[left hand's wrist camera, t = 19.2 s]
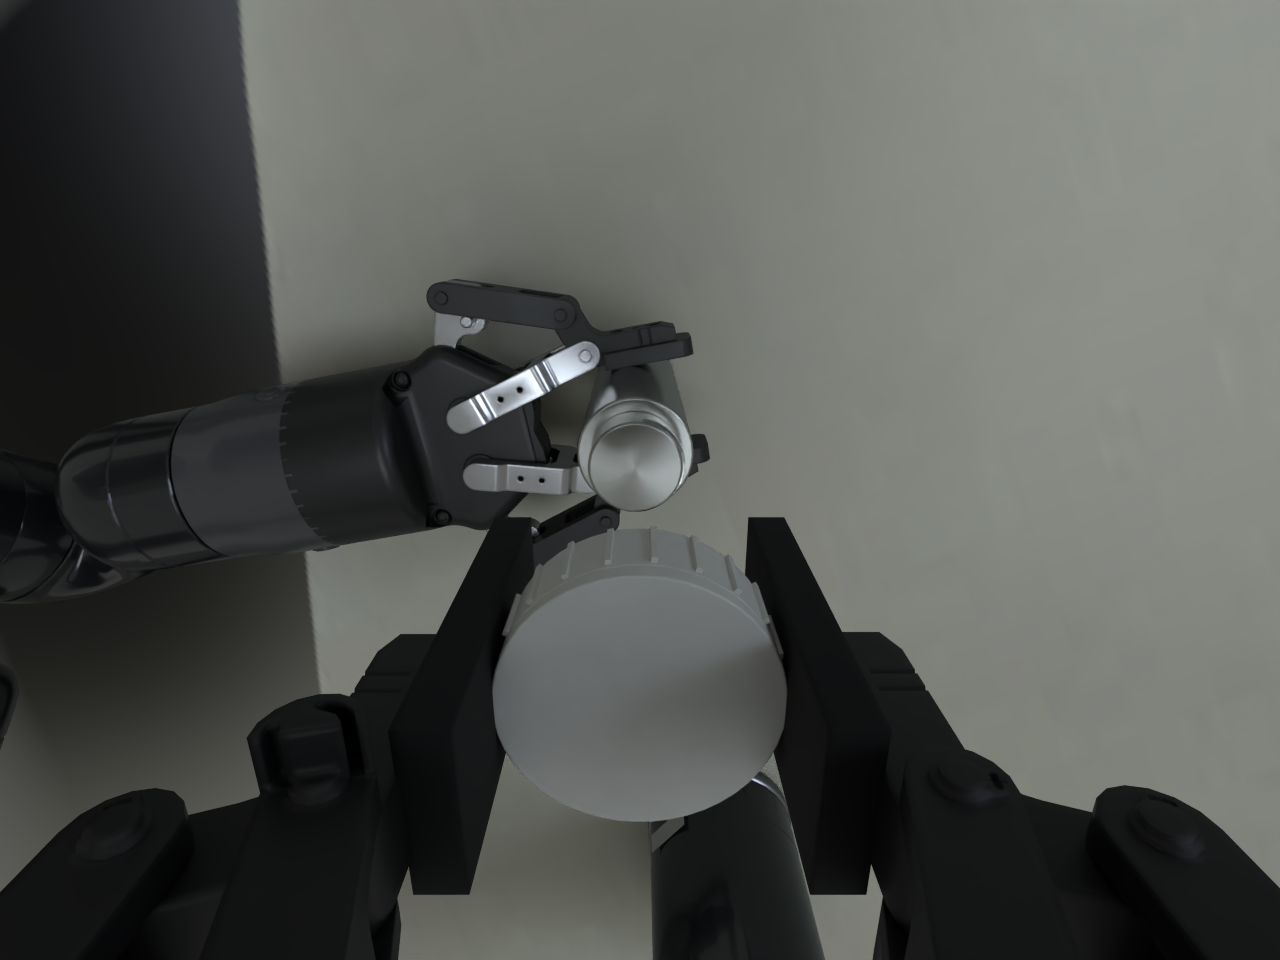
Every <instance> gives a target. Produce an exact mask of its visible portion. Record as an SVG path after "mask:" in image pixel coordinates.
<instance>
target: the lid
mask: <svg viewBox="0 0 1280 960" xmlns="http://www.w3.org/2000/svg"><path fill="white" fill-rule="evenodd" d="M502 635H503V636H505V640H504V643H503V646H502V649H501V652H500V655H499V659H498V661H497V664H496V667H495V671H494V676H493V681H492V694H493V707H494V718H495V727H496V731H497V734H498V737H499V739H500V741H501V743H502V746H503V748H504V750H505V751H506V753H507V755H508V756H509V758H510V759H511V761H512V762H513V764H514V765H515V766H516V767H517V768H518V770H519V771H520V772H521V773H522V774H523V776H524V777H526V778H527V779H528V780H529V781H530V782H531V783H532V784H533V785H534V786H535V787H537V788H538V789H539V790H541V791H542V792H544V793H545V794H546V795H548V796H549V797H551V798H553V799H554V800H556V801H558V802H560V803H562V804H564V805H565V806H568V807H570V808H573V809H575V810H578V811H580V812H583V813H586V814H589V815H593V816H596V817H600V818H606V819H611V820H617V821H629V822H653V821H661V820H669V819H674V818H678V817H683V816H687V815H690V814H693V813H696V812H699V811H702V810H705V809H707V808H709V807H711V806H713V805H716V804H718V803H720V802H722V801H723V800H725V799H726V798H728V797H730V796H731V795H733V794H735V793H736V792H737V791H739V790H740V789H741V788H742V787H744V786H745V785H746V784H747V783H749V782H750V781H751V780H752V779H753V778H754V777H755V776H756V775H757V774H758V773H759V772H760V770H761V769H762V768H763V766H764V765H765V764H766V762H767V761H768V760H769V759H770V757H771V755H772V753H773V752H774V750H775V748H776V746H777V745H778V742H779V740H780V737H781V734H782V732H783V729H784V723H785V713H786V702H787V678H786V675H785V671H784V667H783V663H782V660H781V659H783V650H782V647H781V645H780V642H779V639H778V636H777V633H776V630H775V627H774V624H773V621H772V618H771V615H768V614H767V611H766V608H765V605H764V602H763V599H762V596H761V593H760V590H759V587H758V585H757V583H756V582H754V583H752V584H751V582H750V581H749V579H748V578H747V577H746V576H745V575H744V574H743V572H742V571H741V570H740V569H739V568H738V567H737V566H736V565H735V564H734V561H733V557H731V556H730V555H729V554H728V555H727V556H726V557H725V556H724V555H722V554H721V553H719V552H718V551H716V550H715V549H713V548H712V547H710V546H708V545H706V544H704V543H702V542H700V541H698V537H696V536H694V535H692V536H691V538H689V537H686V536H684V535H681V534H676V533H672V532H667V531H663V530H657V527H654V526H650V529H625V530H618V531H614V528H611V529H607V533H603V534H600V535H596V536H592V537H590V538H587V539H585V540H582V541H580V542H577V543H574V541H572V542H570V543H568V546H567V548H566V549H565V550H563V551H561V552H560V553H558V554H557V555H556V556H554V557H553V558H552V559H550V560H549V561H548V562H547V563H546V564H545V565H544V566H542V565H541V564H539V565H538V566H537V567H536V569H535V572H534V576H533V578H532V579H531V580H530V581H529V583H528V584H527V585H526V587H525V589H524V591H523V592H522V594H521V595H520V594H516V596H515V598H514V601H513V604H512V607H511V610H510V612H509V615H508V618H507V621H506V624H505V627H504V630H503V633H502Z"/></svg>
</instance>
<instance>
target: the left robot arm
mask: <svg viewBox="0 0 1280 960" xmlns="http://www.w3.org/2000/svg"><path fill="white" fill-rule="evenodd" d="M533 576H534V558H533V541H532V524H531V517H495V519H494V521H493V523H492V525H491V527H490V529H489V531H488V533H487V535H486V537H485V539H484V541H483V543H482V545H481V547H480V549H479V551H478V553H477V555H476V557H475V559H474V561H473V563H472V565H471V567H470V569H469V571H468V573H467V575H466V577H465V579H464V581H463V583H462V585H461V586H460V588H459V590H458V592H457V594H456V596H455V598H454V600H453V602H452V604H451V606H450V608H449V610H448V612H447V614H446V616H445V618H444V620H443V622H442V624H441V626H440V628H439V630H438V632H437V634H400V635H399V636H398V637H396V638H395V639H394V640H392V641H391V642H390V643H388V644H387V645H386V646H384V647H383V648H382V649H381V650H379V651H378V652H377V654H376V655H375V657H374V658H373V660H372V662H371V663H370V665H369V666H368V668H367V670H366V671H365V676H362V678H361V679H360V681H359V683H358V684H357V686H356V687H355V692H354V693H352V694H351V695H350V697H349V696H346V695H342V694H318V695H314V696H310V697H306V698H302V699H297V700H295V701H293V702H291V703H288V704H286V705H284V706H282V707H280V708H278V709H275V710H274V711H273V712H271V713H270V714H269V715H267V716H266V717H265V718H263V719H262V720H261V721H259V722H258V723H257V724H256V726H255V727H254V729H253V730H252V731H251V733H250V734H249V735H248V737H247V741H248V745H249V749H250V753H251V757H252V761H253V766H254V770H255V774H256V778H257V782H258V786H259V790H260V795H259V797H257V798H253V799H250V800H247V801H244V802H241V803H237V804H233V805H229V806H225V807H220V808H216V809H212V810H208V811H204V812H200V813H195V814H191V815H188V813H187V810H186V807H185V803H184V801H183V800H182V799H181V798H180V797H179V796H178V795H177V794H176V793H175V792H174V791H168V790H163V789H158V788H153V789H146V790H138V791H132V792H129V793H126V794H123V795H120V796H118V797H114V798H112V799H109V800H106V801H104V802H102V803H101V804H99V805H97V806H95V807H93V808H91V809H90V810H88V811H86V812H84V813H82V814H81V815H79V816H78V817H77V818H76V819H74V820H73V821H72V822H71V823H70V824H68V825H67V826H66V827H65V828H63V829H62V830H61V831H60V832H59V833H58V834H57V835H56V836H55V837H54V838H53V839H52V840H51V841H50V842H49V843H48V844H47V845H46V846H45V847H44V848H43V849H42V850H41V851H40V852H39V853H38V854H37V855H36V856H35V857H34V858H33V859H32V860H31V861H30V862H29V863H28V864H27V865H26V866H25V867H24V868H23V869H22V870H21V871H20V873H19V874H18V875H17V876H16V877H15V878H14V879H13V880H12V881H11V882H10V883H9V884H8V885H7V886H6V887H5V888H4V889H3V890H2V891H1V892H0V960H398V954H399V944H400V933H401V919H400V912H399V906H398V900H397V897H398V894H399V891H400V889H401V886H402V883H403V880H404V878H405V875H406V872H407V869H408V867H409V870H410V876H411V883H412V889H413V895H469V894H470V890H471V886H472V883H473V879H474V875H475V871H476V867H477V863H478V859H479V855H480V851H481V848H482V844H483V840H484V836H485V832H486V828H487V824H488V820H489V816H490V812H491V809H492V805H493V801H494V797H495V793H496V789H497V785H498V781H499V777H500V774H501V770H502V766H503V762H504V758H505V754H506V751H505V750H504V748H503V746H502V743H501V741H500V739H499V737H498V734H497V731H496V727H495V718H494V707H493V694H492V681H493V676H494V671H495V667H496V664H497V661H498V659H499V655H500V652H501V649H502V646H503V643H504V640H505V636H503V635H502V633H503V630H504V627H505V624H506V621H507V618H508V615H509V612H510V610H511V607H512V604H513V601H514V598H515V596H516V594H520V595H521V594H522V592H523V591H524V589H525V587H526V585H527V584H528V583H529V581H530V580H531V579H532V578H533ZM745 576H746V577H747V578H748V579H749V581H750V582H751V584H752V583H754V582H756V583H757V585H758V587H759V590H760V593H761V596H762V599H763V602H764V605H765V608H766V611H767V614H768V615H771V618H772V621H773V624H774V627H775V630H776V633H777V636H778V639H779V642H780V645H781V647H782V650H783V659H781V660H782V663H783V667H784V671H785V675H786V678H787V702H786V713H785V723H784V729H783V732H782V734H781V737H780V740H779V742H778V745H777V746H776V748H775V750H774V756H775V760H776V763H777V767H778V771H779V775H780V779H781V783H782V787H783V791H784V795H785V798H786V802H787V806H788V810H789V814H790V818H791V822H792V826H793V830H794V834H795V837H796V841H797V845H798V849H799V853H800V857H801V861H802V865H803V869H804V872H805V876H806V880H807V884H808V888H809V892H810V895H866V893H867V887H868V880H869V874H870V867H871V865H872V867H873V870H874V873H875V875H876V878H877V881H878V884H879V886H880V889H881V892H882V895H883V900H882V906H881V911H880V917H879V923H878V929H877V935H876V941H875V947H874V954H873V960H1280V888H1279V887H1278V886H1277V885H1276V884H1275V883H1274V882H1273V881H1272V880H1271V879H1270V878H1269V877H1268V876H1267V875H1266V874H1265V873H1264V872H1263V871H1262V870H1261V869H1260V868H1259V867H1258V866H1257V865H1256V863H1255V862H1254V861H1253V860H1252V859H1251V858H1250V857H1249V856H1248V855H1247V854H1246V853H1245V852H1244V851H1243V850H1242V849H1241V848H1240V847H1239V846H1238V845H1237V844H1236V843H1235V842H1234V841H1233V840H1232V839H1231V838H1230V837H1229V836H1228V835H1227V834H1226V833H1225V832H1224V831H1223V830H1222V829H1221V828H1220V827H1218V826H1217V825H1216V824H1215V823H1214V822H1212V821H1211V820H1210V819H1209V818H1207V817H1206V816H1205V815H1204V814H1203V813H1201V812H1200V811H1198V810H1196V809H1194V808H1193V807H1191V806H1189V805H1187V804H1185V803H1184V802H1182V801H1180V800H1178V799H1176V798H1175V797H1172V796H1169V795H1166V794H1163V793H1160V792H1157V791H1154V790H1151V789H1149V788H1142V787H1134V786H1126V785H1123V786H1118V787H1112V788H1107V789H1106V790H1104V791H1103V792H1102V793H1101V794H1100V795H1099V796H1098V797H1097V798H1096V801H1095V805H1094V808H1093V811H1092V812H1088V811H1084V810H1080V809H1075V808H1071V807H1067V806H1063V805H1059V804H1054V803H1050V802H1046V801H1042V800H1039V799H1035V798H1032V797H1029V796H1026V795H1023V794H1021V793H1020V792H1019V790H1018V789H1017V787H1016V785H1015V784H1014V782H1013V781H1012V779H1011V777H1010V776H1009V775H1008V774H1006V773H1005V772H1004V771H1003V770H1002V769H1001V768H999V767H998V766H997V765H996V764H995V763H994V762H992V761H990V760H988V759H986V758H984V757H982V756H980V755H978V754H976V753H974V752H972V751H969V750H965V749H964V747H963V746H962V744H961V742H960V741H959V739H958V738H957V736H956V734H955V733H954V731H953V730H952V728H951V727H950V725H949V723H948V722H947V720H946V719H945V717H944V715H943V714H942V712H941V711H940V709H939V707H938V706H937V704H936V703H935V701H934V699H933V698H932V696H931V695H930V693H929V691H926V690H925V685H924V684H923V682H922V680H921V679H920V677H919V676H918V674H915V669H914V668H913V666H912V664H911V663H910V661H909V660H908V658H907V656H906V655H905V653H904V652H903V650H902V649H901V648H900V647H898V646H897V645H896V644H894V643H893V642H892V641H890V640H889V639H888V638H886V637H885V636H884V635H882V634H881V633H880V632H842V631H841V629H840V627H839V625H838V623H837V621H836V619H835V617H834V615H833V613H832V611H831V609H830V607H829V605H828V603H827V601H826V599H825V597H824V595H823V593H822V591H821V589H820V587H819V585H818V583H817V581H816V579H815V577H814V575H813V573H812V571H811V570H810V568H809V566H808V564H807V562H806V560H805V558H804V556H803V554H802V552H801V550H800V548H799V546H798V544H797V542H796V540H795V538H794V536H793V534H792V532H791V530H790V528H789V526H788V524H787V522H786V520H785V518H784V517H748V534H747V551H746V568H745Z"/></svg>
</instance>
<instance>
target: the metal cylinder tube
mask: <svg viewBox="0 0 1280 960" xmlns="http://www.w3.org/2000/svg"><path fill="white" fill-rule="evenodd" d="M693 457H694V448H693V441H692V438H691V434H690V430H689V427H688V423H687V419H686V416H685V412H684V409H683V405H682V401H681V398H680V394H679V390H678V387H677V383H676V380H675V376H674V372H673V369H672V365H671V363H670V361H669V360H664V361H659V362H653V363H648V364H642V365H637V366H630V367H624V368H620V369H615V370H609V371H606V368H605V365H604V366H599V369H598V373H597V376H596V380H595V383H594V387H593V390H592V394H591V398H590V401H589V405H588V408H587V412H586V415H585V419H584V422H583V426H582V429H581V433H580V436H579V440H578V445H577V460H578V465H579V468H580V471H581V474H582V476H583V478H584V480H585V481H586V483H587V484H588V486H589V487H590V488H591V489H592V490H593V491H594V492H595V493H596V494H597V495H598V496H600V497H601V498H602V499H603V500H604V501H605V502H607V503H608V504H610V505H611V506H613V507H615V508H618V509H621V510H625V511H632V512H640V511H646V510H650V509H653V508H655V507H658V506H659V505H661V504H663V503H664V502H665V501H667V500H668V499H669V498H670V497H671V496H672V495H674V494H675V493H676V492H677V491H678V490H679V489H680V488H681V486H682V485H683V484H684V483H685V481H686V479H687V477H688V475H689V473H690V471H691V467H692V464H693Z"/></svg>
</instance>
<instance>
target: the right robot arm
mask: <svg viewBox="0 0 1280 960" xmlns="http://www.w3.org/2000/svg"><path fill="white" fill-rule="evenodd" d="M427 302H428V304H429V306H430V307H431V308H432V309H433V310H434V311H435V325H434V345H433V346H432V347H430V348H428V349H426V350H425V351H424V352H423V353H422V354H421V355H419V356H418V357H417V358H416V359H413V360H410V361H406V362H401V363H396V364H390V365H385V366H379V367H374V368H369V369H363V370H358V371H353V372H347V373H342V374H336V375H331V376H326V377H320V378H315V379H310V380H305V381H300V382H294V383H289V384H283V385H278V386H273V387H267V388H261V389H257V390H252V391H248V392H245V393H241V394H238V395H235V396H232V397H229V398H226V399H224V400H221V401H218V402H215V403H211V404H206V405H202V406H196V407H191V408H185V409H181V410H175V411H170V412H164V413H159V414H154V415H149V416H143V417H138V418H134V419H129V420H125V421H121V422H117V423H113V424H110V425H106V426H104V427H101V428H99V429H97V430H94V431H92V432H90V433H88V434H86V435H85V436H83V437H82V438H81V439H79V440H78V441H77V442H75V443H74V444H73V445H72V446H71V448H70V449H69V450H68V451H67V452H66V454H65V455H64V456H63V458H62V460H61V461H60V463H59V464H53V463H49V462H46V461H42V460H38V459H35V458H31V457H28V456H24V455H20V454H16V453H13V452H9V451H6V450H2V449H0V603H11V604H30V603H45V602H54V601H62V600H68V599H74V598H79V597H84V596H88V595H92V594H95V593H99V592H102V591H105V590H108V589H110V588H113V587H116V586H119V585H121V584H124V583H127V582H129V581H132V580H135V579H138V578H140V577H143V576H145V575H147V574H149V573H151V572H153V571H155V570H157V569H169V568H176V567H184V566H190V565H196V564H201V563H207V562H213V561H219V560H225V559H230V558H236V557H243V556H251V555H280V554H291V553H298V552H304V551H310V550H313V551H325V550H329V549H333V548H337V547H339V546H340V545H345V544H350V543H356V542H362V541H368V540H374V539H380V538H386V537H392V536H398V535H403V534H409V533H415V532H421V531H427V530H432V529H436V528H440V527H444V526H449V525H460V526H465V527H469V528H472V529H475V530H486V531H487V532H488V531H489V529H490V527H491V525H492V523H493V521H494V519H495V517H509V516H508V514H509V513H510V512H511V511H512V510H513V509H514V508H515V507H516V506H517V505H518V504H519V503H520V502H521V501H522V500H523V499H524V498H525V496H526V495H527V494H528V493H541V494H553V495H567V494H570V493H573V492H579V493H590V494H596V493H595V492H594V491H593V490H592V489H591V488H590V487H589V486H588V484H587V483H586V481H585V480H584V478H583V476H582V474H581V471H580V468H579V465H578V460H577V448H576V447H573V446H565V445H554V444H551V443H550V439H549V435H548V433H547V431H546V430H545V428H544V426H543V424H542V422H541V420H540V414H541V401H540V396H542V395H544V394H546V393H548V392H550V391H551V390H553V389H554V388H555V387H557V386H559V385H561V384H563V383H565V382H567V381H569V380H571V379H573V378H575V377H577V376H579V375H581V374H583V373H585V372H587V371H589V370H591V369H593V368H595V367H598V366H604V365H605V368H606V371H609V370H615V369H620V368H624V367H630V366H637V365H642V364H648V363H653V362H659V361H664V360H669V359H675V358H680V357H685V356H689V355H692V354H693V347H692V341H691V336H690V334H689V333H687V332H684V333H677V334H676V332H675V327H674V325H673V323H668V322H663V321H659V322H653V323H648V324H643V325H638V326H632V327H626V328H621V329H616V330H610V331H600V330H597V329H595V328H594V327H592V326H591V325H590V323H589V322H588V320H587V319H586V317H585V315H584V314H583V312H582V310H581V309H580V305H579V303H578V301H577V300H576V299H575V298H574V297H573V296H570V295H565V294H558V293H551V292H544V291H537V290H530V289H523V288H516V287H509V286H502V285H495V284H488V283H481V282H474V281H467V280H460V279H452V280H448V281H443V282H439V283H435V284H433V285H432V286H431V287H430V288H429V289H428V292H427ZM489 320H491V321H498V322H505V323H512V324H519V325H526V326H534V327H541V328H548V329H555V331H556V333H557V334H558V336H559V337H560V339H561V341H562V342H563V344H564V345H561V346H559V347H557V348H555V349H553V350H551V351H549V352H546V353H543V354H541V355H539V356H537V357H535V358H533V359H531V360H529V361H527V362H525V363H523V364H521V365H519V366H517V367H515V368H513V369H512V368H510V367H508V366H506V365H503V364H501V363H499V362H497V361H495V360H493V359H490V358H488V357H486V356H484V355H482V354H480V353H477V352H475V351H473V350H471V349H469V348H467V347H464V346H462V345H461V340H462V338H463V337H464V336H465V335H473V334H477V333H479V332H480V331H482V330H484V329H485V328H486V327H487V325H488V323H489ZM691 438H692V441H693V448H694V457H693V464H692V467H691V471H690V473H689V475H688V477H689V476H691V475H693V474H694V473H696V472H698V466H697V464H698V463H703V462H706V461H708V460H709V459H710V455H709V448H708V443H707V440H706V437H705V435H704V434H693V435H691ZM550 457H551V458H552V459H550ZM542 478H544V479H542ZM619 515H620V509H618V508H615V507H613V506H611V505H610V504H608V503H607V502H605V501H604V500H603V499H602V498H601V497H600V496H598V495H597V494H596V495H594V496H592V497H590V498H588V499H587V500H585V501H583V502H581V503H579V504H577V505H575V506H573V507H571V508H569V509H567V510H565V511H563V512H561V513H559V514H557V515H555V516H554V517H552V518H550V519H548V520H546V521H544V522H542V523H539V521H537V520H536V519H533V518H531V524H532V541H533V558H534V572H535V569H536V567H537V566H538V565H539V564H541V565H542V566H544V565H545V564H546V563H547V562H548V561H549V560H550V559H552V558H553V557H554V556H556V555H557V554H558V553H560V552H561V551H563V550H565V549H566V548H567V546H568V543H570V542H572V541H574V543H577V542H580V541H582V540H585V539H587V538H590V537H592V536H596V535H600V534H603V533H607V529H611V528H614V531H615V530H616V529H617V528H618V526H619V520H620V516H619ZM18 693H19V682H18V678H17V676H16V675H15V673H14V672H13V671H12V670H11V669H10V668H9V667H7V666H6V665H4V664H2V663H0V749H1V746H2V743H3V741H4V736H5V734H6V732H7V730H8V727H9V724H10V721H11V719H12V716H13V713H14V709H15V706H16V702H17V698H18ZM649 839H650V843H651V899H652V944H653V960H825V957H824V953H823V949H822V945H821V942H820V938H819V934H818V930H817V926H816V922H815V918H814V915H813V911H812V907H811V903H810V899H809V895H808V891H807V887H806V884H805V880H804V876H803V872H802V868H801V864H800V860H799V856H798V852H797V848H796V844H795V840H794V836H793V832H792V829H791V820H790V815H789V811H788V807H787V804H786V801H785V798H784V796H783V794H782V793H781V791H780V790H779V789H778V787H777V786H776V785H775V784H774V783H773V782H772V781H771V780H769V779H768V778H767V777H765V776H764V775H762V774H760V773H758V774H757V775H756V776H755V777H754V778H753V779H752V780H751V781H750V782H749V783H747V784H746V785H745V786H744V787H742V788H741V789H740V790H739V791H737V792H736V793H735V794H733V795H731V796H730V797H728V798H726V799H725V800H723V801H722V802H720V803H718V804H716V805H713V806H711V807H709V808H707V809H705V810H702V811H699V812H696V813H693V814H690V815H687V816H683V817H678V818H674V819H669V820H661V821H653V822H649Z"/></svg>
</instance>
